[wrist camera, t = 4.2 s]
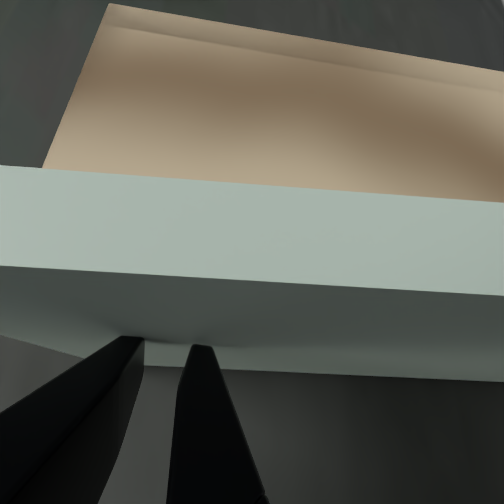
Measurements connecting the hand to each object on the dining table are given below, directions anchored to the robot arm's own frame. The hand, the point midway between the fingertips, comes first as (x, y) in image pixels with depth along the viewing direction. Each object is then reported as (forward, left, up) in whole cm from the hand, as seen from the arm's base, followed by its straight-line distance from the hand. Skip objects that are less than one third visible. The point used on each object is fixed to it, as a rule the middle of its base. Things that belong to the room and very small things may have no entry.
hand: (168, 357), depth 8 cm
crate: (+7, -2, -8) cm, 11 cm away
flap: (+3, -4, -7) cm, 9 cm away
